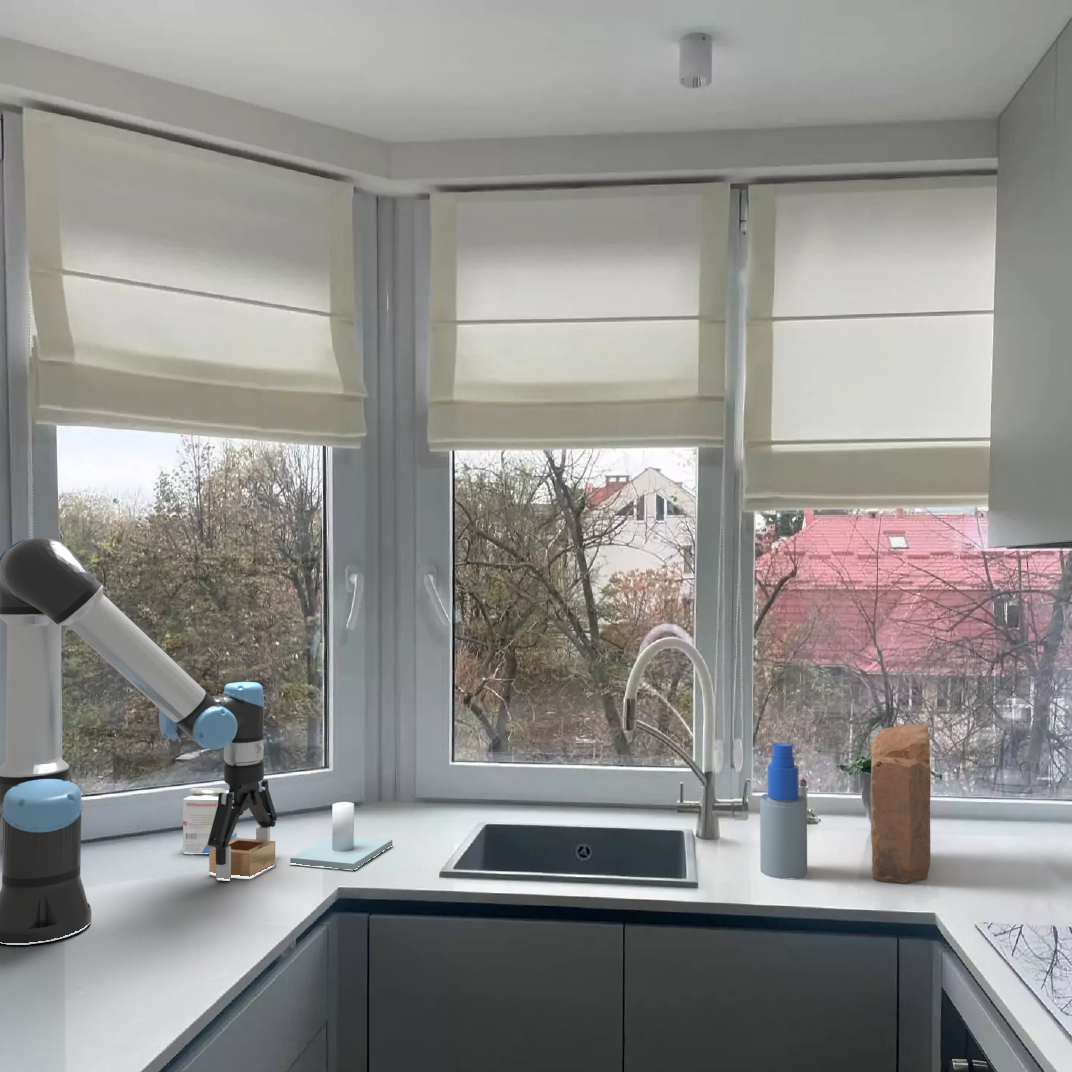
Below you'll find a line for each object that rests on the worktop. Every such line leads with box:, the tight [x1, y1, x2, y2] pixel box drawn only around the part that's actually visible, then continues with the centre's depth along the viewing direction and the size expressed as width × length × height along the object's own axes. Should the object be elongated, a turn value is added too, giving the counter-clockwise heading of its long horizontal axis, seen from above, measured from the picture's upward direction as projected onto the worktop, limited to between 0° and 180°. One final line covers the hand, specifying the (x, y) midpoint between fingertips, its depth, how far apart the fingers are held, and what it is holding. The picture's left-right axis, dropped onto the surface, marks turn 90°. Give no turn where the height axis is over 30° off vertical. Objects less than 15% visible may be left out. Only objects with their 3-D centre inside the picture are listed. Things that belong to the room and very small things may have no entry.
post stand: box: [289, 801, 393, 870], centre depth 206 cm, size 18×14×10 cm
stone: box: [869, 723, 932, 884], centre depth 197 cm, size 22×11×28 cm, turn 162°
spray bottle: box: [759, 742, 808, 879], centre depth 195 cm, size 9×9×25 cm
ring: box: [208, 837, 276, 877], centre depth 195 cm, size 9×9×5 cm
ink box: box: [182, 787, 237, 853], centre depth 210 cm, size 9×8×13 cm
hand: (243, 870), depth 195 cm, fingers open, 13 cm apart
